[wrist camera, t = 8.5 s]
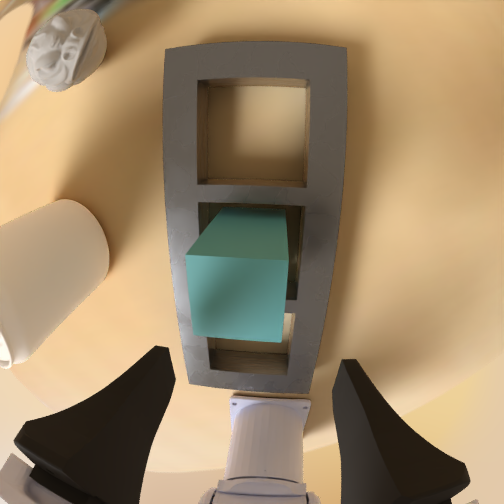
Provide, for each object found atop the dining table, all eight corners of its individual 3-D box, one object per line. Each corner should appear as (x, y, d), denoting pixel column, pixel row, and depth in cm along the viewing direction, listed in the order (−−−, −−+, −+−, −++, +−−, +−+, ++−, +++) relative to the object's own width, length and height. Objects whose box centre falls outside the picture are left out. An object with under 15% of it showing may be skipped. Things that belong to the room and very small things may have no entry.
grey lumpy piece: (116, 100, 16) (48, 94, 9) (54, 89, 15) (-9, 88, 9) (146, 24, 13) (92, -11, 7) (79, 23, 13) (22, 3, 7)
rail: (307, 372, 23) (308, 393, 21) (196, 364, 24) (189, 383, 22) (337, 59, 14) (346, 47, 11) (179, 59, 15) (165, 49, 12)
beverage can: (42, 193, 19) (-66, 244, 8) (112, 201, 19) (-15, 272, 8) (51, 275, 22) (-30, 346, 11) (117, 295, 22) (35, 394, 11)
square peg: (281, 266, 19) (281, 342, 12) (224, 262, 20) (193, 335, 12) (285, 209, 18) (288, 260, 11) (223, 206, 18) (185, 254, 11)
